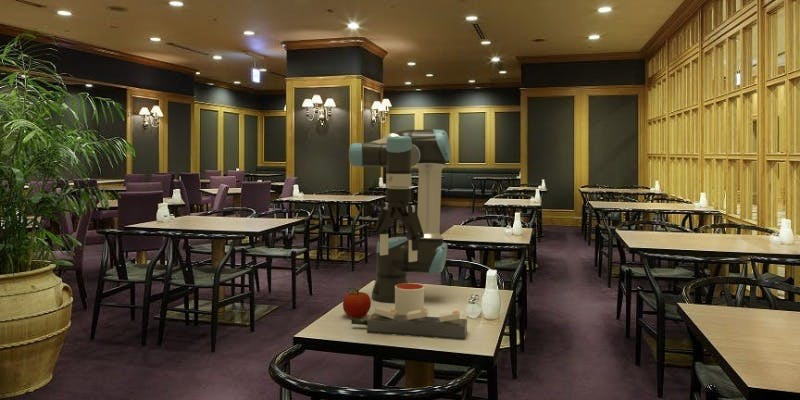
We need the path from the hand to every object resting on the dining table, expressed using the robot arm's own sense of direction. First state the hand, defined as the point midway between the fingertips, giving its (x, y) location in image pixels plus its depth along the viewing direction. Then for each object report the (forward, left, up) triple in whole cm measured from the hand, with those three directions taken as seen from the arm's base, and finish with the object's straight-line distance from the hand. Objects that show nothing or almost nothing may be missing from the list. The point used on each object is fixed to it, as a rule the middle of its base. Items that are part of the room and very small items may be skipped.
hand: (398, 258), depth 177 cm
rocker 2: (-4, +5, -18) cm, 19 cm away
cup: (-23, -1, -24) cm, 33 cm away
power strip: (-4, +3, -24) cm, 24 cm away
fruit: (-17, -18, -24) cm, 34 cm away
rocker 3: (-4, +15, -18) cm, 24 cm away
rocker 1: (-4, -5, -18) cm, 19 cm away
